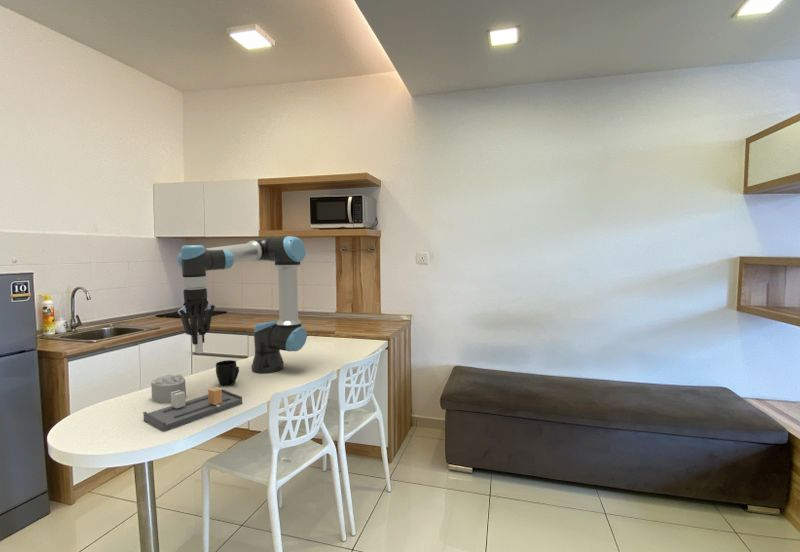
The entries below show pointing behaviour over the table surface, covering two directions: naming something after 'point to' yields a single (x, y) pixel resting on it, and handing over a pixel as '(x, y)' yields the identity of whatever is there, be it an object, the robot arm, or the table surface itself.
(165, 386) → the lumpy-topped squat cylinder
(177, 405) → the fader
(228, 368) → the mug
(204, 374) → the table surface
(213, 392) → the fader
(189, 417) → the console
